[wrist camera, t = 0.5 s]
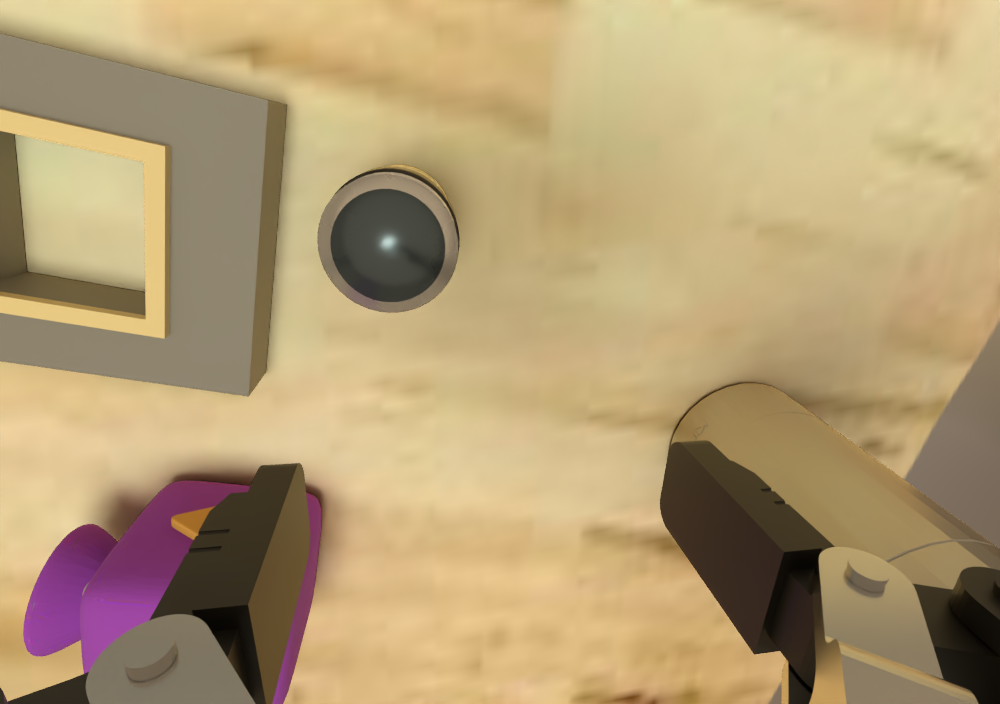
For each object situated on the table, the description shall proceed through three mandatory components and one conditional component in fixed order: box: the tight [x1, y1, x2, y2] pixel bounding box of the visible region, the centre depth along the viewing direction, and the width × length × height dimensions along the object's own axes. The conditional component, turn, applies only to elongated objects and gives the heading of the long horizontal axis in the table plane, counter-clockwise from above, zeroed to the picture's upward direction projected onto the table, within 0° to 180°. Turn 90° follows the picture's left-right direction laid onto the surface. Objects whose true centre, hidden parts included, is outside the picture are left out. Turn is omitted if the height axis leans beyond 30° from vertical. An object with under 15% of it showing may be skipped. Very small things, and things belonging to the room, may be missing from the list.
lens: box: [318, 165, 459, 313], centre depth 23 cm, size 5×5×8 cm
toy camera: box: [24, 481, 322, 704], centre depth 28 cm, size 11×14×10 cm
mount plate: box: [0, 33, 287, 396], centre depth 23 cm, size 16×14×4 cm
